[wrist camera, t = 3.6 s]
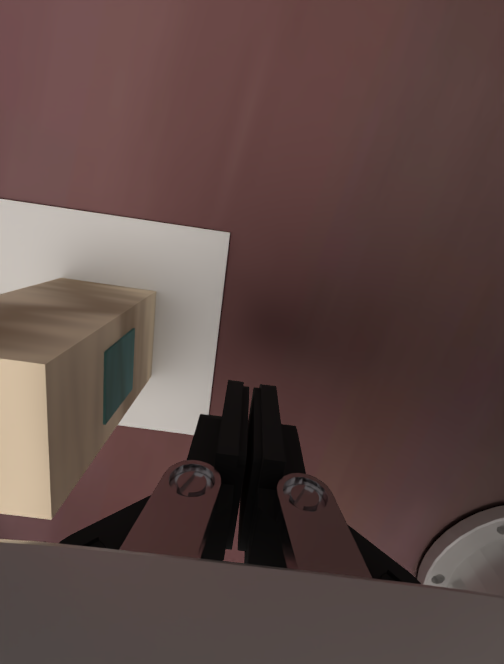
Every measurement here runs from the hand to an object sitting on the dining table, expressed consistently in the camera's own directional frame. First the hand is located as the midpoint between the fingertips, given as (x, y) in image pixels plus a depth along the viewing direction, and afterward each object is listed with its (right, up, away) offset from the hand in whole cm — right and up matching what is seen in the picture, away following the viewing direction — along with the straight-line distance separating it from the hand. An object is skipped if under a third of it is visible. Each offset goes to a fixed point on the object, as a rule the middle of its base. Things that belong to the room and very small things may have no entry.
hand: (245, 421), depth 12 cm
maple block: (-8, +3, +7) cm, 11 cm away
